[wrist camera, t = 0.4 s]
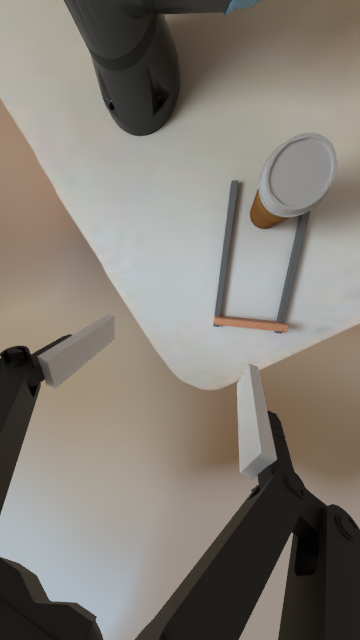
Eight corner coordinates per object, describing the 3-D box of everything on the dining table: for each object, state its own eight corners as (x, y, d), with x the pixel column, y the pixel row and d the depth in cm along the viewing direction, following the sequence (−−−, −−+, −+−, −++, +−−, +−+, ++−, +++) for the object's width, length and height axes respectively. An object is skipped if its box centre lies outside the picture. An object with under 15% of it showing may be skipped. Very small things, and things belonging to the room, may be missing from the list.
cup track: (231, 183, 32) (233, 173, 30) (313, 183, 30) (325, 172, 28) (213, 325, 40) (214, 328, 37) (279, 332, 38) (285, 336, 35)
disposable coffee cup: (301, 194, 31) (358, 142, 20) (275, 244, 34) (313, 223, 22) (255, 177, 32) (285, 117, 20) (233, 227, 34) (249, 199, 23)
